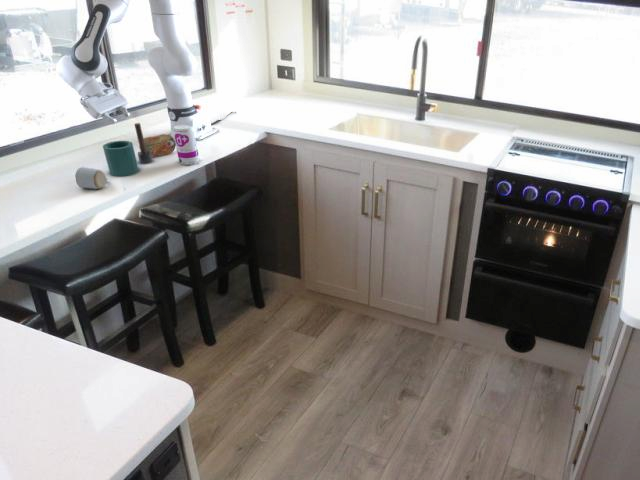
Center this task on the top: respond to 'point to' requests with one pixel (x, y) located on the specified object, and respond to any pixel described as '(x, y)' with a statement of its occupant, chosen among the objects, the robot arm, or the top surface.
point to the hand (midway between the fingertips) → (122, 119)
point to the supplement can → (186, 144)
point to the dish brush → (142, 146)
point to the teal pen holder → (120, 158)
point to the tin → (159, 145)
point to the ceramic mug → (90, 178)
